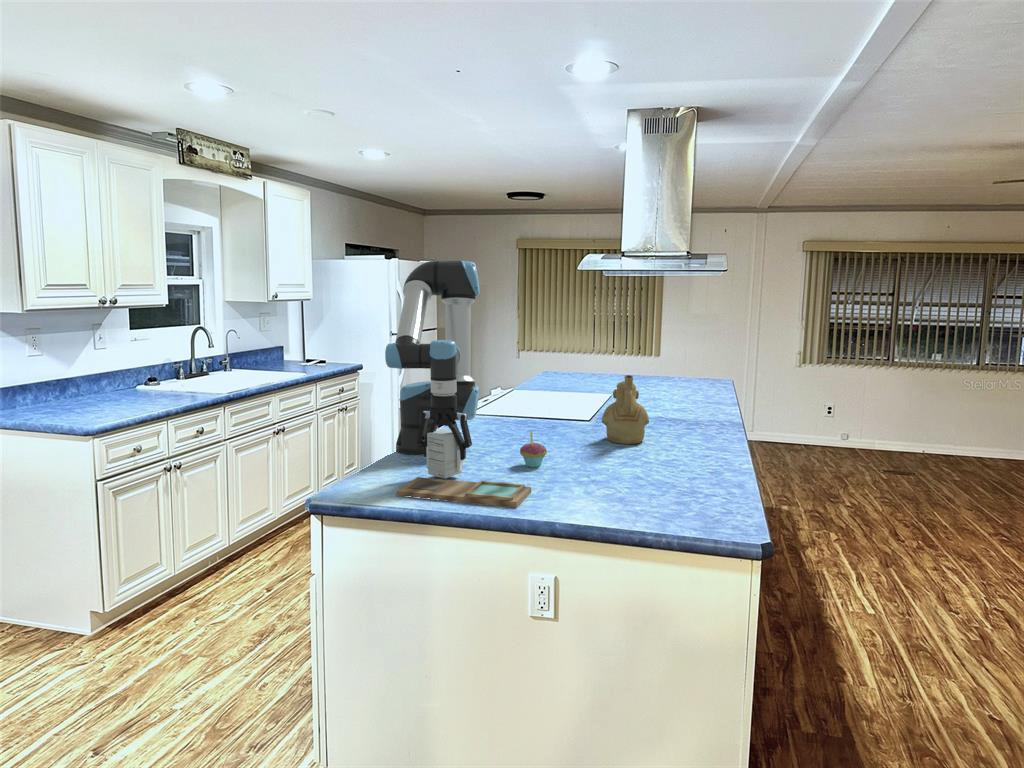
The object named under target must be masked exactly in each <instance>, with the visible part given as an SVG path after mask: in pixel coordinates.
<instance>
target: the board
mask: <svg viewBox="0 0 1024 768" xmlns="http://www.w3.org/2000/svg"><path fill="white" fill-rule="evenodd" d="M531 493H532V487H531V486H525V484H523V483H512V482H504V481H503V482H501V481H500V482H499V481H490V480H489V481H488V480H480V481H467V480H466V481H465V480H456V479H455V480H454V479H445V478H432V477H431V478H430V477H423V476H422V477H420V476H417V477H415V478H414V479H412V480H411V481H409V482H407V483H406V484H404V485H403V486H401V487H400V488H398V489H397V490H395V496H396V495H398V496H397V497H400V496H411V497H420V498H419V499H421V498H430V499H429V500H431V499H439V500H438V501H441V500H447V501H446V502H452V501H457V502H456V503H462V502H465V503H464V504H473V505H486V506H493V505H495V506H496V507H503V508H504V507H505V508H515V509H516V508H518V507H519V506H520V505H521V504H522V503H523V502H524V501H525V500H526V498H528V496H530V494H531ZM474 503H475V504H474ZM495 506H494V507H495Z"/></svg>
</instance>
